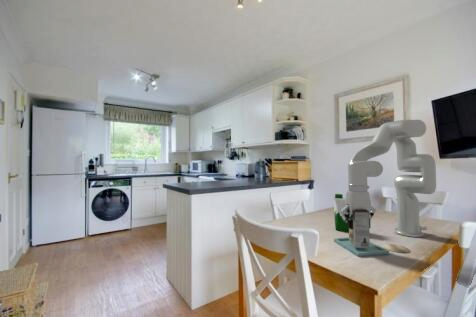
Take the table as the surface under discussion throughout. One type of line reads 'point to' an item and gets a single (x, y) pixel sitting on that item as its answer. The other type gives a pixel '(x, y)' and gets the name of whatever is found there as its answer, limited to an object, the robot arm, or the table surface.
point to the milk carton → (339, 218)
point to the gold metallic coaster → (396, 248)
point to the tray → (361, 252)
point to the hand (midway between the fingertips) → (358, 227)
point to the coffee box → (360, 229)
